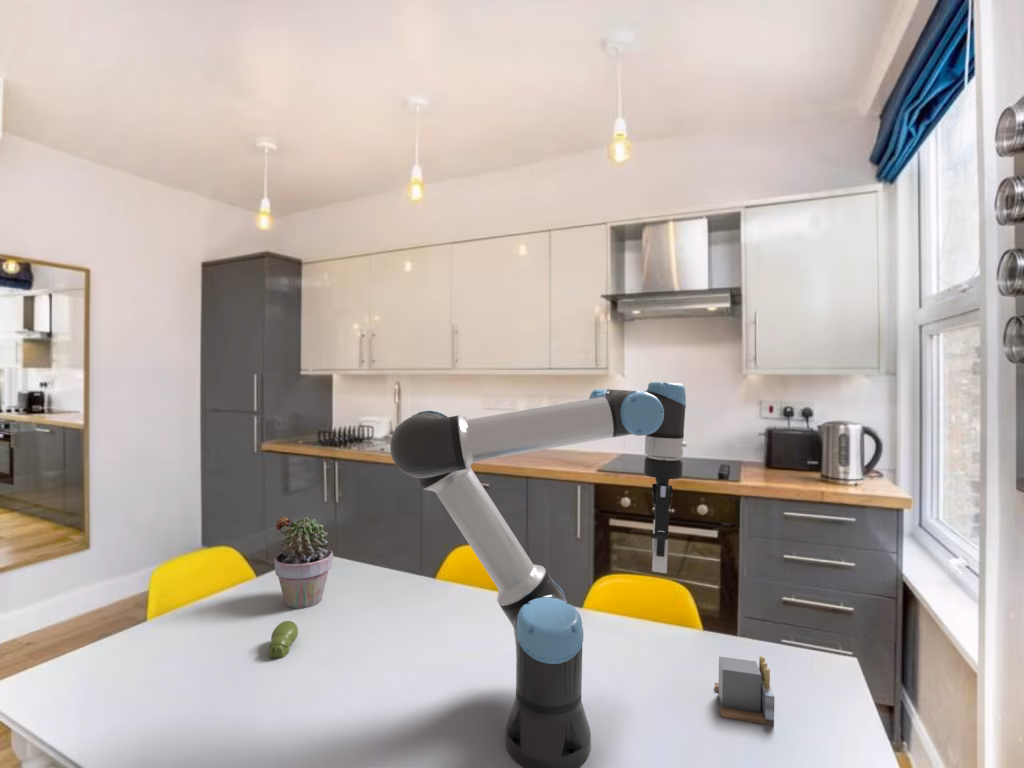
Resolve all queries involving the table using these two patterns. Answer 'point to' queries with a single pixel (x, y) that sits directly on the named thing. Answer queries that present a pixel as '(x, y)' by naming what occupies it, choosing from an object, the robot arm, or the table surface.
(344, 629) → the table surface
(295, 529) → the potted plant
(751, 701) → the plug block
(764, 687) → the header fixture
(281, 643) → the green rounded oblong piece
